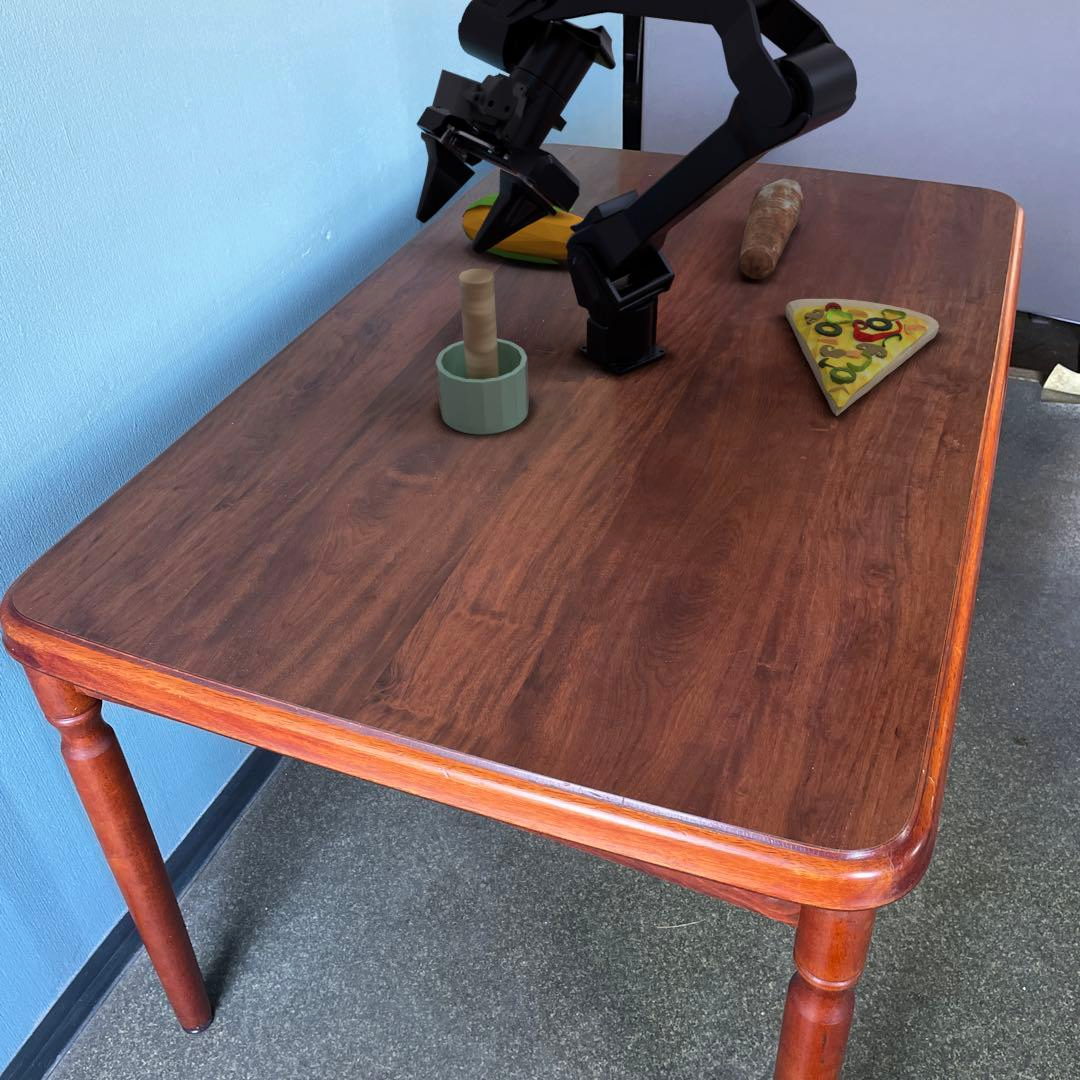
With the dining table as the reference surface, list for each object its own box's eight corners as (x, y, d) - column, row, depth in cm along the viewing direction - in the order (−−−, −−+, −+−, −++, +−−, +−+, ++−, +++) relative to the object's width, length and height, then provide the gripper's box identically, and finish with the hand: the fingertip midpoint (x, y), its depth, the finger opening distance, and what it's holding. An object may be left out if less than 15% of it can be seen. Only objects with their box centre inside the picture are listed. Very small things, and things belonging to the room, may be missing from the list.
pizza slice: (937, 328, 112) (943, 302, 110) (922, 431, 96) (928, 403, 95) (787, 308, 116) (791, 282, 114) (750, 404, 101) (753, 376, 99)
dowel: (503, 397, 102) (496, 268, 94) (497, 414, 99) (490, 283, 91) (471, 396, 102) (462, 267, 94) (465, 412, 100) (455, 282, 92)
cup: (495, 379, 105) (492, 329, 102) (545, 414, 100) (544, 362, 97) (424, 407, 102) (419, 356, 98) (473, 444, 97) (469, 391, 93)
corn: (475, 173, 129) (633, 195, 122) (481, 233, 134) (632, 256, 127) (447, 199, 124) (609, 223, 117) (454, 260, 129) (610, 286, 122)
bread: (803, 223, 134) (809, 179, 131) (775, 287, 120) (781, 239, 117) (752, 217, 136) (757, 173, 132) (719, 280, 122) (723, 233, 118)
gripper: (425, 11, 97) (334, 161, 99) (552, 54, 85) (446, 223, 87) (499, 85, 106) (414, 221, 107) (624, 133, 94) (526, 286, 96)
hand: (446, 235), depth 99 cm, fingers open, 9 cm apart
